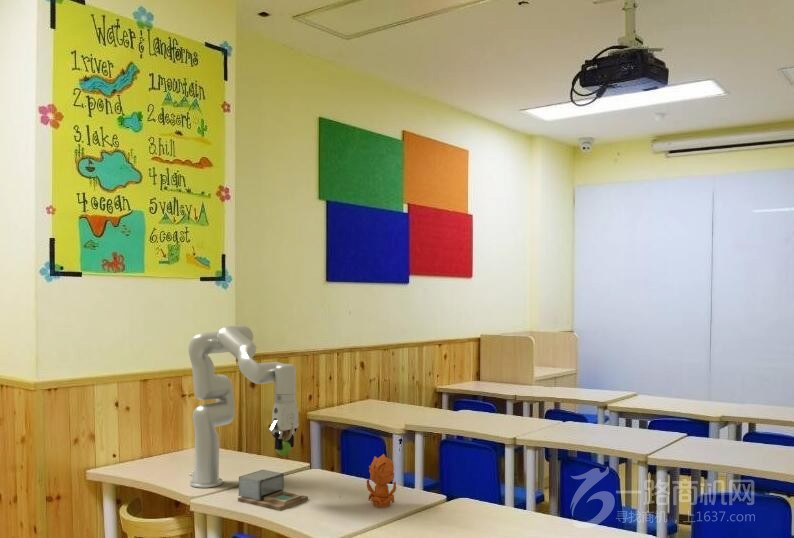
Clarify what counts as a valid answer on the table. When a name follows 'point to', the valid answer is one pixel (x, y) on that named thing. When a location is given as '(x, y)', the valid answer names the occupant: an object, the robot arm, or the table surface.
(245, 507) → the table surface
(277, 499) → the board
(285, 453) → the snail figurine
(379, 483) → the orange figurine
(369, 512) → the table surface
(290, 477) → the table surface
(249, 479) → the block
